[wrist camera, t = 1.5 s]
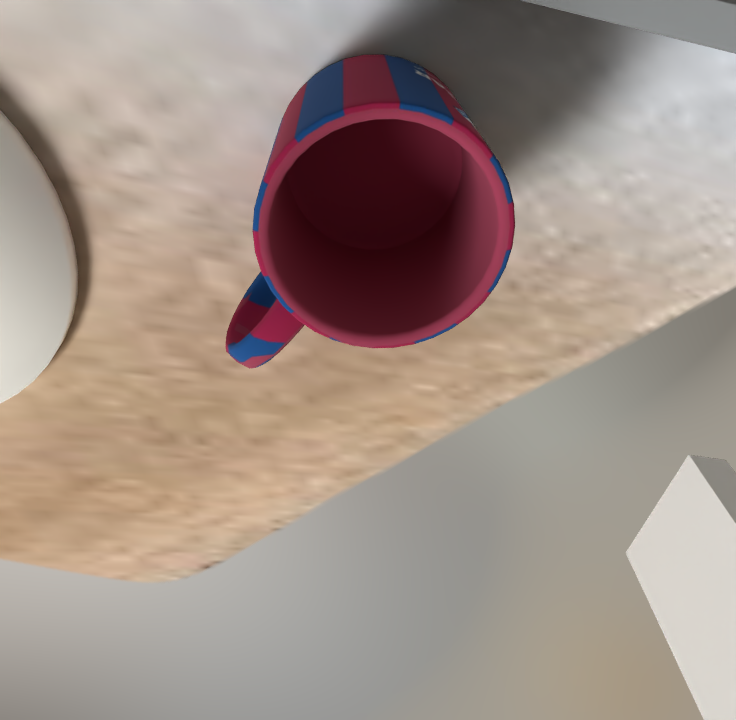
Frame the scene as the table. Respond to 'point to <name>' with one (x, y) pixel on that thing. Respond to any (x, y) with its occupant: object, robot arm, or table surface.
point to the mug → (373, 214)
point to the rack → (663, 17)
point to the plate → (31, 265)
